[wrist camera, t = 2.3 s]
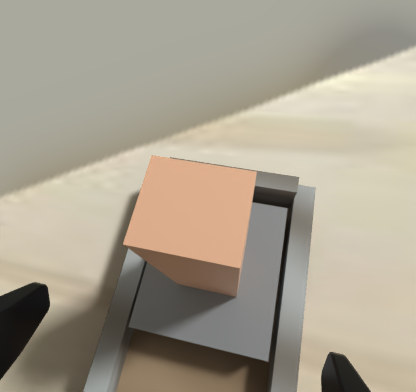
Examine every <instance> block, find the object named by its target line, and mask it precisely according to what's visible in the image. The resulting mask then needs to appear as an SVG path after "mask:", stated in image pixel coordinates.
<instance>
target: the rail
mask: <svg viewBox="0 0 416 392" xmlns="http://www.w3.org/2000/svg"><path fill="white" fill-rule="evenodd" d="M170 158H171V157H170ZM172 159H177V158H172ZM178 160H184V159H178ZM185 161H190V160H185ZM191 162H197V161H191ZM198 163H203V162H198ZM204 164H210V163H204ZM211 165H216V164H211ZM217 166H223V165H217ZM224 167H229V166H224ZM230 168H236V167H230ZM236 169H242V168H236ZM243 170H249V169H243ZM249 171H255V170H249ZM256 172H257V174H256V181H255V188H254V194H253V201H252V202H253V203H259V204H265V205H271V206H277V207H282V208H288V209H287V217H286V225H285V233H284V241H283V249H282V257H281V265H280V272H279V280H278V288H277V296H276V304H275V312H274V320H273V328H272V336H271V343H270V351H269V359H268V361H264V360H260V359H256V358H252V357H248V356H244V355H240V354H236V353H232V352H228V351H223V350H219V349H215V348H211V347H207V346H203V345H199V344H195V343H191V342H187V341H183V340H179V339H175V338H171V337H167V336H163V335H159V334H155V333H151V332H147V331H143V330H139V329H135V328H131V327H129V323H130V320H131V316H132V313H133V309H134V306H135V302H136V299H137V295H138V292H139V288H140V285H141V281H142V278H143V275H144V271H145V268H146V264H147V261H145V260H144V259H142V258H141V257H140V256H138V255H137V254H135V253H134V252H133V251H131V250H130V249H129V248H128V251H127V254H126V258H125V261H124V264H123V267H122V270H121V273H120V277H119V280H118V283H117V286H116V289H115V292H114V296H113V299H112V302H111V305H110V308H109V311H108V315H107V318H106V321H105V324H104V327H103V330H102V334H101V337H100V340H99V343H98V346H97V349H96V353H95V356H94V359H93V362H92V365H91V368H90V372H89V375H88V378H87V381H86V384H85V387H84V391H83V392H297V382H298V371H299V361H300V350H301V339H302V328H303V318H304V307H305V296H306V285H307V275H308V264H309V253H310V242H311V232H312V221H313V210H314V199H315V189H316V187H309V186H303V185H298V181H299V177H294V176H287V175H281V174H275V173H268V172H262V171H256Z"/></svg>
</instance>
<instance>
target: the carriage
mask: <svg viewBox="0 0 416 392" xmlns="http://www.w3.org/2000/svg"><path fill="white" fill-rule="evenodd" d="M256 174H257V172H256V171H249V170H243V169H236V168H230V167H224V166H217V165H211V164H204V163H198V162H191V161H185V160H178V159H172V158H165V157H159V156H151V159H150V162H149V165H148V168H147V171H146V174H145V178H144V181H143V184H142V187H141V190H140V193H139V196H138V199H137V202H136V205H135V208H134V211H133V215H132V218H131V221H130V224H129V227H128V230H127V233H126V236H125V239H124V242H123V245H124V246H126V247H127V248H129V249H130V250H131V251H133V252H134V253H135V254H137V255H138V256H140V257H141V258H142V259H144V260H145V261H147V264H146V268H145V271H144V275H143V278H142V281H141V285H140V288H139V292H138V295H137V299H136V302H135V306H134V309H133V313H132V316H131V320H130V323H129V327H131V328H135V329H139V330H143V331H147V332H151V333H155V334H159V335H163V336H167V337H171V338H175V339H179V340H183V341H187V342H191V343H195V344H199V345H203V346H207V347H211V348H215V349H219V350H223V351H228V352H232V353H236V354H240V355H244V356H248V357H252V358H256V359H260V360H264V361H268V359H269V351H270V343H271V336H272V328H273V320H274V312H275V304H276V296H277V288H278V280H279V272H280V265H281V257H282V249H283V241H284V233H285V225H286V217H287V209H288V208H282V207H277V206H271V205H265V204H259V203H253V202H252V201H253V194H254V188H255V181H256Z"/></svg>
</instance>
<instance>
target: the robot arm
mask: <svg viewBox="0 0 416 392" xmlns="http://www.w3.org/2000/svg"><path fill="white" fill-rule="evenodd" d="M49 307H50V300H49V293H48V287H47V286H46V285H45V284H41V283H37V282H34V283H31V284H28V285H26V286H23V287H21V288H19V289H16V290H14V291H11V292H9V293H7V294H4V295H2V296H0V380H1V378H2V377H3V376H4V374H5V373H6V372H7V371H8V369H9V368H10V367H11V365H12V364H13V363H14V362H15V360H16V359H17V357H18V356H19V355H20V353H21V352H22V350H23V349H24V348H25V346H26V344H27V343H28V341H29V340H30V338H31V337H32V335H33V334H34V332H35V330H36V329H37V327H38V326H39V324H40V323H41V321H42V320H43V318H44V316H45V315H46V313H47V312H48V310H49ZM321 386H322V392H371V391H370V390H369V388H368V387H367V385H366V384H365V383H364V381H363V380H362V378H361V377H360V375H359V374H358V373H357V371H356V370H355V368H354V367H353V366H352V364H351V363H350V361H349V360H348V359H347V357H346V356H345V355H343V354H339V353H334V352H330V353H329V354H328V356H327V359H326V362H325V364H324V367H323V370H322V375H321Z"/></svg>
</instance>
